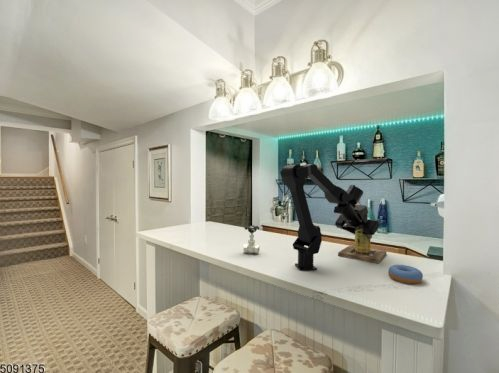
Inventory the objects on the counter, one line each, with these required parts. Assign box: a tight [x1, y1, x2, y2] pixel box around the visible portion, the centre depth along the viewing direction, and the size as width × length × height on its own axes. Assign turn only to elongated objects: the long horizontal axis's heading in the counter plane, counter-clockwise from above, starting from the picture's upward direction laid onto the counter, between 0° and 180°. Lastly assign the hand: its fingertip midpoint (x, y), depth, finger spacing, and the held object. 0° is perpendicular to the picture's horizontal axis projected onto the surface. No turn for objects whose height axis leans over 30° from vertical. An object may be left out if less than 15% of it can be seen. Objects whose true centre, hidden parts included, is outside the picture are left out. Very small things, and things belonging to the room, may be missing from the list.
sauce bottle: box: [354, 213, 371, 256], centre depth 112 cm, size 6×6×20 cm
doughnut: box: [387, 264, 424, 285], centre depth 86 cm, size 10×10×5 cm
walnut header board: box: [337, 244, 387, 264], centre depth 113 cm, size 16×16×2 cm
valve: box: [243, 224, 260, 255], centre depth 113 cm, size 7×7×12 cm
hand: (364, 236), depth 113 cm, fingers closed on sauce bottle, 6 cm apart
